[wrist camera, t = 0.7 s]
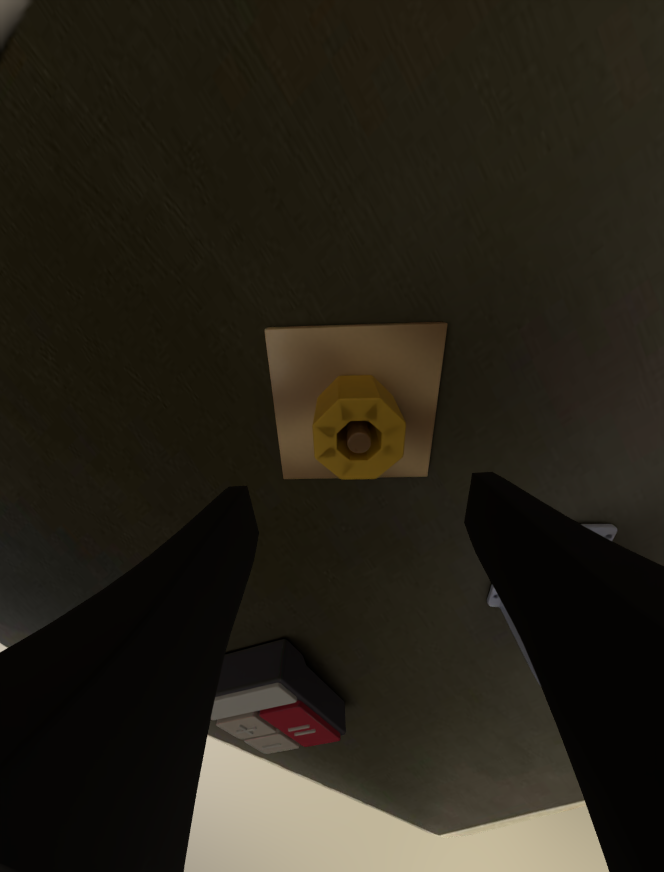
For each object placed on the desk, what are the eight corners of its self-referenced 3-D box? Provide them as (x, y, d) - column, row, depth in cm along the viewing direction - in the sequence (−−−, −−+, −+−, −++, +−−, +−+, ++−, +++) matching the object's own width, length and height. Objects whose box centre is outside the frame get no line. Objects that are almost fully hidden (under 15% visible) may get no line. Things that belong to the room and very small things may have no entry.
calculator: (263, 759, 36) (181, 711, 29) (269, 712, 40) (198, 661, 33) (347, 744, 34) (279, 689, 27) (345, 696, 37) (285, 637, 31)
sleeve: (390, 443, 20) (401, 478, 16) (319, 444, 20) (316, 480, 16) (394, 373, 18) (408, 397, 14) (315, 375, 18) (310, 399, 14)
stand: (424, 470, 22) (447, 519, 17) (285, 473, 22) (271, 521, 17) (443, 321, 17) (480, 335, 13) (267, 327, 17) (242, 342, 13)
